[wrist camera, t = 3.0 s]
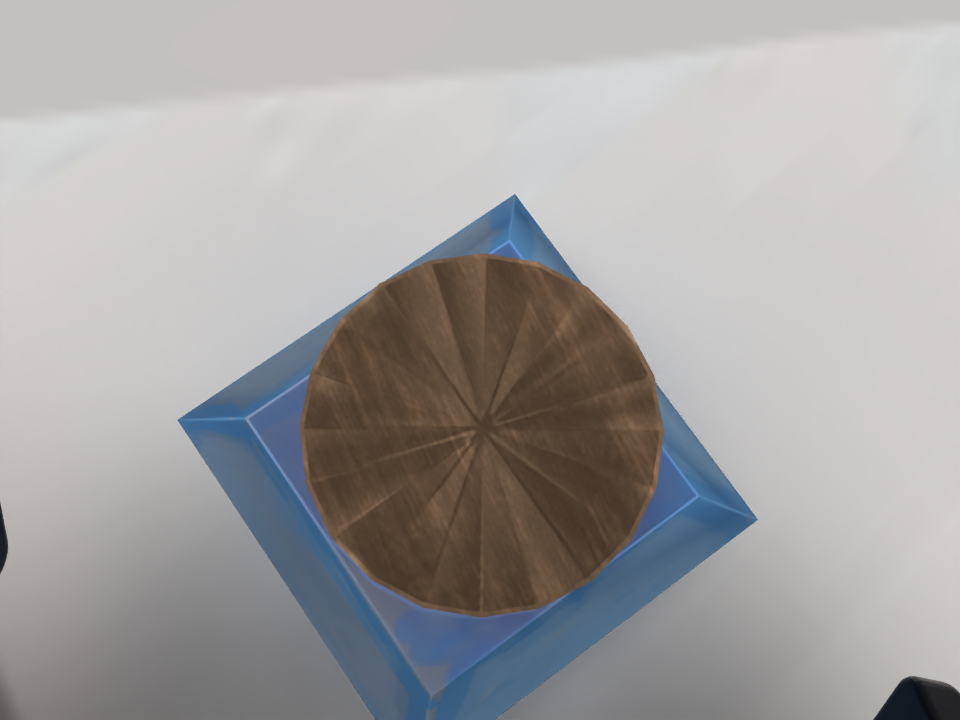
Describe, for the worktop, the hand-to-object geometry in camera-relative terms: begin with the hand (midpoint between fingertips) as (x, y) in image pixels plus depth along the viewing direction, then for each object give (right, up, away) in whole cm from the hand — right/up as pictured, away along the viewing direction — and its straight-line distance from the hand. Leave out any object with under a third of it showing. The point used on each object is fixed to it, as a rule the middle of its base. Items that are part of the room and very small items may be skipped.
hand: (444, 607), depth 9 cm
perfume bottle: (0, 0, +11) cm, 11 cm away
